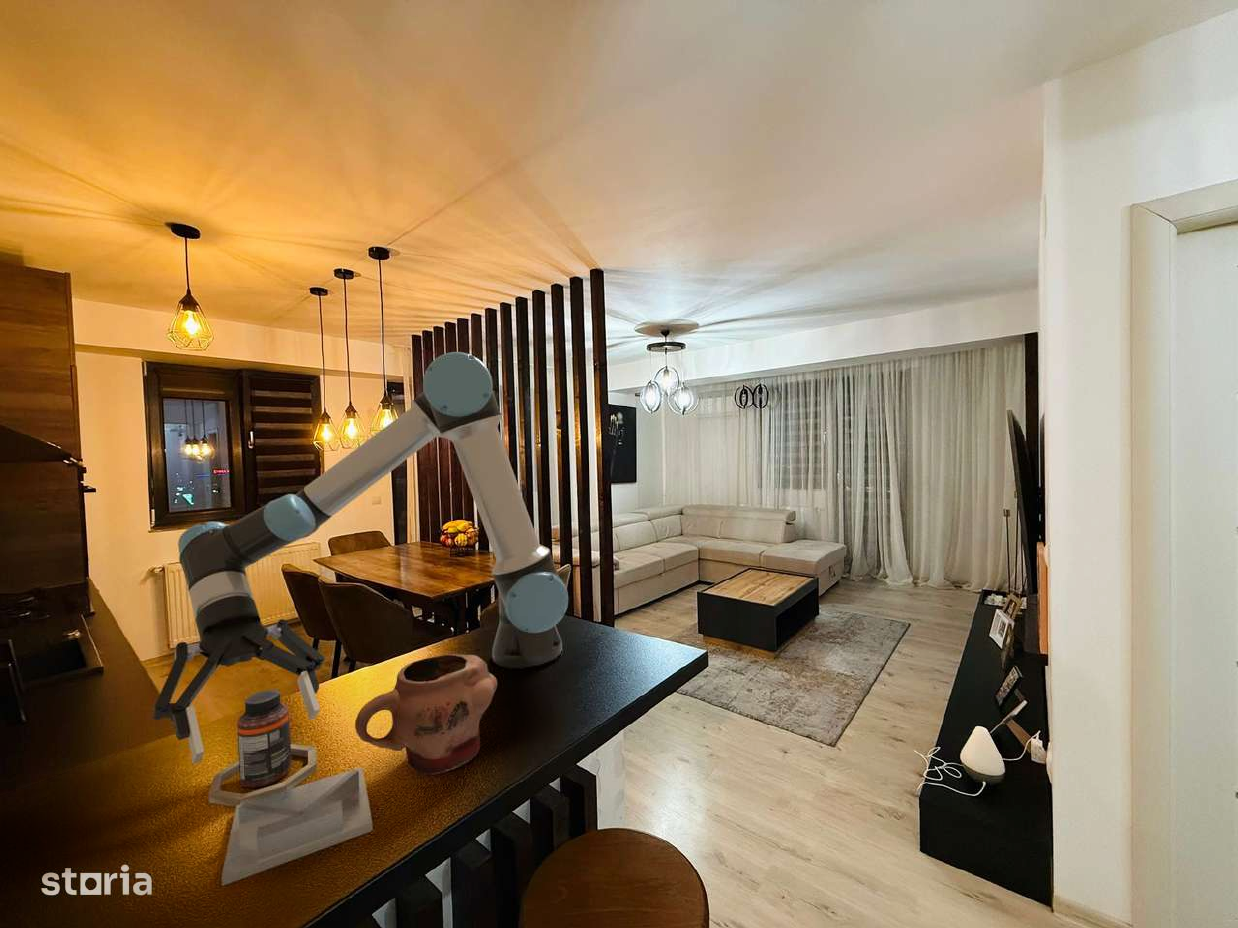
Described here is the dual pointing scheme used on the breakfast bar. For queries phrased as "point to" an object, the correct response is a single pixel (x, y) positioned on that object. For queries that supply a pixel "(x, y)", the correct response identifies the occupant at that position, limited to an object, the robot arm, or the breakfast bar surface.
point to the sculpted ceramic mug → (434, 711)
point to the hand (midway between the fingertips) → (261, 734)
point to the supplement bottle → (264, 740)
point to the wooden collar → (237, 798)
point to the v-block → (296, 823)
